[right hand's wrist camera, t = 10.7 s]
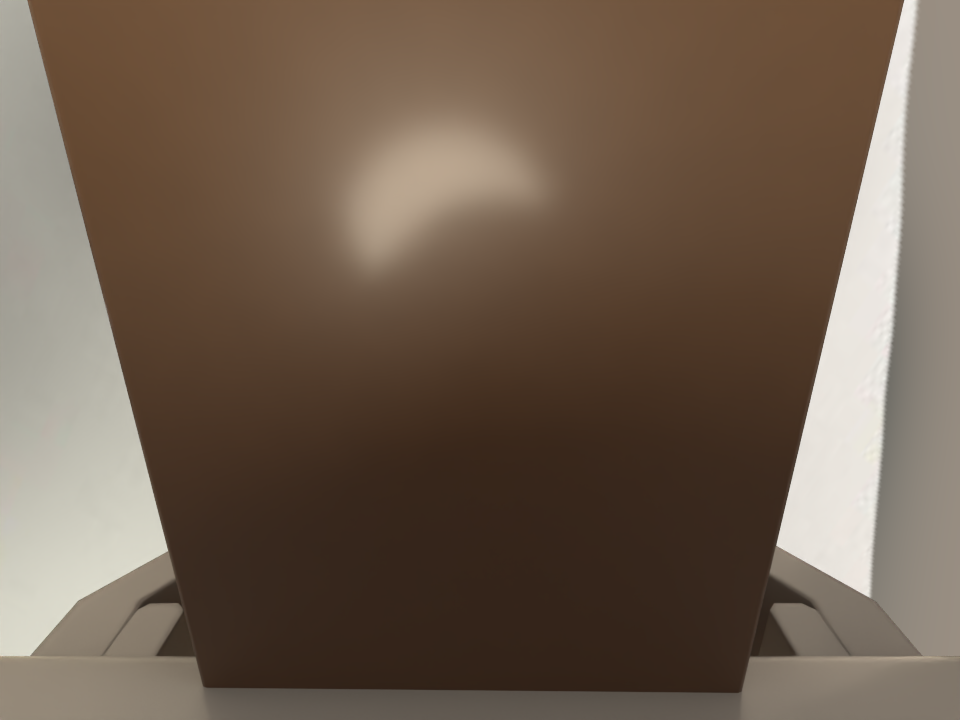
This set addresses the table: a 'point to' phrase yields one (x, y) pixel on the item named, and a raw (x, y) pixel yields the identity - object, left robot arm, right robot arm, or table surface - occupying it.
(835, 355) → the table surface
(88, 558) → the table surface
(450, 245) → the post
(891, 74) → the table surface
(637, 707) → the right robot arm
